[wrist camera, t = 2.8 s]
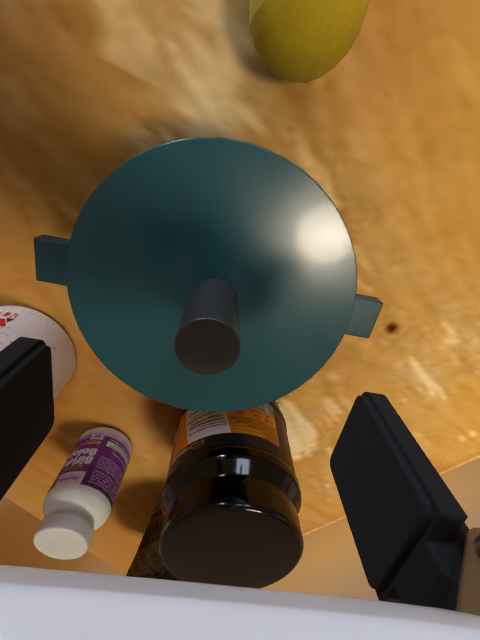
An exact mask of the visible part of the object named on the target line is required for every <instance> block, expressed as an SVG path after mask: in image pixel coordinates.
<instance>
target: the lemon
mask: <svg viewBox="0 0 480 640" xmlns="http://www.w3.org/2000/svg"><path fill="white" fill-rule="evenodd" d="M368 2H369V0H250V6H249V16H250V31H251V35H252V39H253V43H254V47H255V49H256V51H257V53H258V55H259V57H260V59H261V61H262V62H263V64H264V65H265V66H266V67H267V68H268V69H269V71H270V72H271V73H273V74H274V75H276V76H277V77H279V78H280V79H283V80H286V81H290V82H308V81H311V80H314V79H317V78H319V77H321V76H323V75H324V74H326V73H327V72H329V71H330V70H332V69H333V68H334V67H335V66H336V65H337V64H338V63H339V62H340V61H341V60H342V59H343V57H344V56H345V55H346V54H347V53H348V51H349V49H350V48H351V46H352V44H353V43H354V41H355V39H356V38H357V36H358V34H359V32H360V29H361V26H362V23H363V20H364V18H365V15H366V12H367V8H368Z"/></svg>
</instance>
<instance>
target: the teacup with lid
mask: <svg viewBox="0 0 480 640" xmlns="http://www.w3.org/2000/svg"><path fill="white" fill-rule="evenodd" d="M19 337H27V338H34V339H40V340H43V341H44V342H45V344H46V346H49V347H50V348H51V355H52V378H53V400H54V399H55V398H56V397H57V396H58V394H59V393H60V392H61V390H62V389H63V388H64V386H65V385H66V384H67V383H68V381H69V380H70V379H71V377H72V375H73V373H74V371H75V367H76V352H75V348H74V346H73V343H72V341H71V339H70V338H69V336H68V335H67V333H66V332H65V331H64V330H63V329H62V327H61V326H59V325H58V324H57V323H56V322H55V321H54V320H52V319H51V318H49V317H48V316H46V315H44V314H42V313H40V312H38V311H36V310H33V309H30V308H26V307H21V306H0V351H2V350H3V349H4V348H6V347H7V346H8V345H9V344H11V343H12V342H13V341H15V340H16V339H17V338H19Z"/></svg>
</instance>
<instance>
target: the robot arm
mask: <svg viewBox="0 0 480 640" xmlns="http://www.w3.org/2000/svg"><path fill="white" fill-rule="evenodd" d="M53 423H54V400H53V378H52V355H51V348H50V347H49V346H46V344H45V342H44V341H43V340H40V339H34V338H27V337H19V338H17V339H16V340H15V341H13V342H12V343H11V344H9V345H8V346H7V347H6V348H4V349H3V350H2V351H0V500H1V499H2V497H3V496H4V495H5V493H6V492H7V491H8V489H9V488H10V486H11V485H12V484H13V482H14V481H15V479H16V478H17V477H18V475H19V474H20V472H21V471H22V470H23V468H24V467H25V465H26V464H27V463H28V461H29V460H30V458H31V457H32V456H33V454H34V453H35V451H36V450H37V449H38V447H39V446H40V444H41V443H42V442H43V440H44V439H45V437H46V436H47V435H48V433H49V432H50V430H51V428H52V426H53ZM330 467H331V471H332V474H333V477H334V480H335V483H336V486H337V489H338V492H339V495H340V498H341V501H342V504H343V507H344V510H345V513H346V516H347V520H348V523H349V526H350V529H351V532H352V535H353V538H354V540H355V544H356V547H357V550H358V553H359V556H360V559H361V562H362V565H363V568H364V571H365V574H366V577H367V580H368V583H369V585H370V586H371V587H372V588H373V589H375V590H376V593H377V596H378V599H379V601H376V600H367V599H357V598H347V597H338V596H327V595H317V594H307V593H298V592H288V591H278V590H268V589H258V588H247V587H237V586H227V585H216V584H206V583H195V582H185V581H174V580H163V579H152V578H142V577H131V576H120V575H109V574H98V573H86V572H75V571H64V570H52V569H41V568H29V567H18V566H7V565H0V640H480V528H473V529H471V530H469V529H468V527H467V526H466V524H465V523H464V521H465V520H466V519H467V515H466V514H465V512H464V511H463V509H462V508H461V506H460V505H459V503H458V502H457V501H456V499H455V497H454V496H453V495H452V493H451V491H450V490H449V489H448V487H447V486H446V484H445V483H444V481H443V480H442V478H441V477H440V475H439V474H438V472H437V471H436V469H435V468H434V467H433V465H432V464H431V462H430V461H429V459H428V458H427V456H426V455H425V453H424V452H423V450H422V449H421V447H420V446H419V444H418V443H417V442H416V440H415V439H414V437H413V436H412V434H411V433H410V431H409V430H408V428H407V427H406V425H405V424H404V422H403V421H402V419H401V418H400V417H399V415H398V414H397V412H396V411H395V409H394V408H393V406H392V405H391V403H390V402H389V400H388V399H387V397H386V396H385V395H382V394H376V393H370V392H364V393H363V394H362V396H358V397H357V398H356V400H355V402H354V404H353V407H352V409H351V411H350V414H349V416H348V418H347V421H346V423H345V425H344V427H343V430H342V432H341V434H340V437H339V439H338V441H337V444H336V446H335V448H334V451H333V453H332V455H331V459H330Z"/></svg>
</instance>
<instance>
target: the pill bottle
mask: <svg viewBox="0 0 480 640" xmlns="http://www.w3.org/2000/svg"><path fill="white" fill-rule="evenodd" d="M131 454H132V446H131V443H130V441H129V439H128V438H127V437H126V436H125V435H124V434H123V433H121V432H119V431H118V430H115V429H113V428H108V427H98V428H94V429H90V430H88V431H86V432H85V433H84V434H83V435H82V436H81V437H80V438H79V440H78V441H77V443H76V445H75V446H74V448H73V450H72V452H71V453H70V455H69V457H68V459H67V461H66V462H65V464H64V466H63V467H62V469H61V471H60V473H59V474H58V476H57V478H56V480H55V482H54V483H53V485H52V487H51V488H50V490H49V491H48V493H47V495H46V498H45V500H44V503H43V512H44V516H45V518H44V519H43V520H42V521H41V523H40V526H39V528H38V530H37V532H36V534H35V536H34V545H35V547H36V548H37V549H38V550H39V551H40V552H42V553H43V554H45V555H47V556H49V557H52V558H56V559H63V560H67V559H74V558H78V557H80V556H82V555H84V554H85V553H86V551H87V550H88V547H89V545H90V543H91V540H92V538H93V535H94V531H95V530H96V529H98V528H100V527H101V526H102V525H103V524H104V523H105V522H106V521H107V519H108V517H109V515H110V513H111V510H112V508H113V504H114V502H115V499H116V496H117V493H118V491H119V488H120V485H121V482H122V480H123V477H124V474H125V471H126V468H127V466H128V463H129V460H130V457H131Z"/></svg>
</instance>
